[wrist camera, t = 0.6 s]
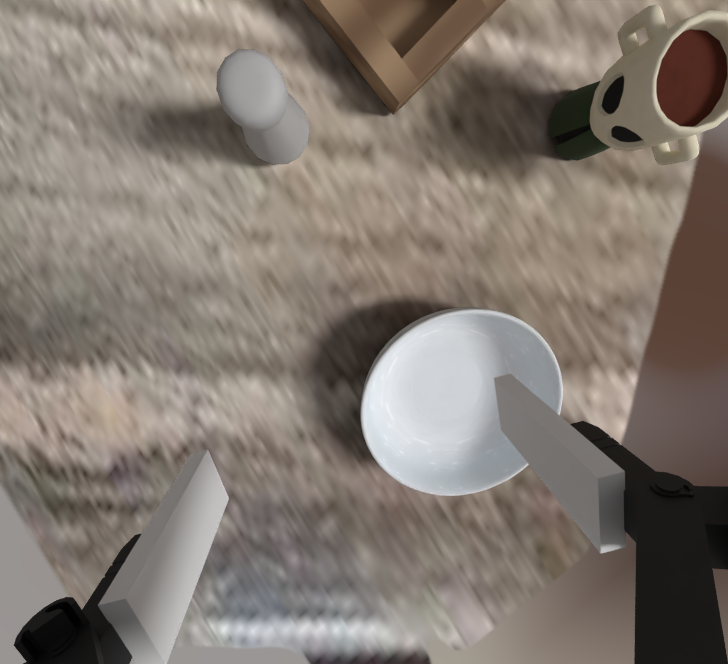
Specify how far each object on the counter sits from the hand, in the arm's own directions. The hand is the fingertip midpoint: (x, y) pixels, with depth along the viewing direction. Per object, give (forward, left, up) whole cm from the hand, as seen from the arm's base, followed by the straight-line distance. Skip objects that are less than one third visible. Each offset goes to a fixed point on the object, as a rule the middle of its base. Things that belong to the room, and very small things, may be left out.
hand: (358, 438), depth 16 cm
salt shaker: (-17, +8, -25) cm, 31 cm away
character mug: (+2, +30, -25) cm, 38 cm away
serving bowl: (+14, +3, -25) cm, 29 cm away
